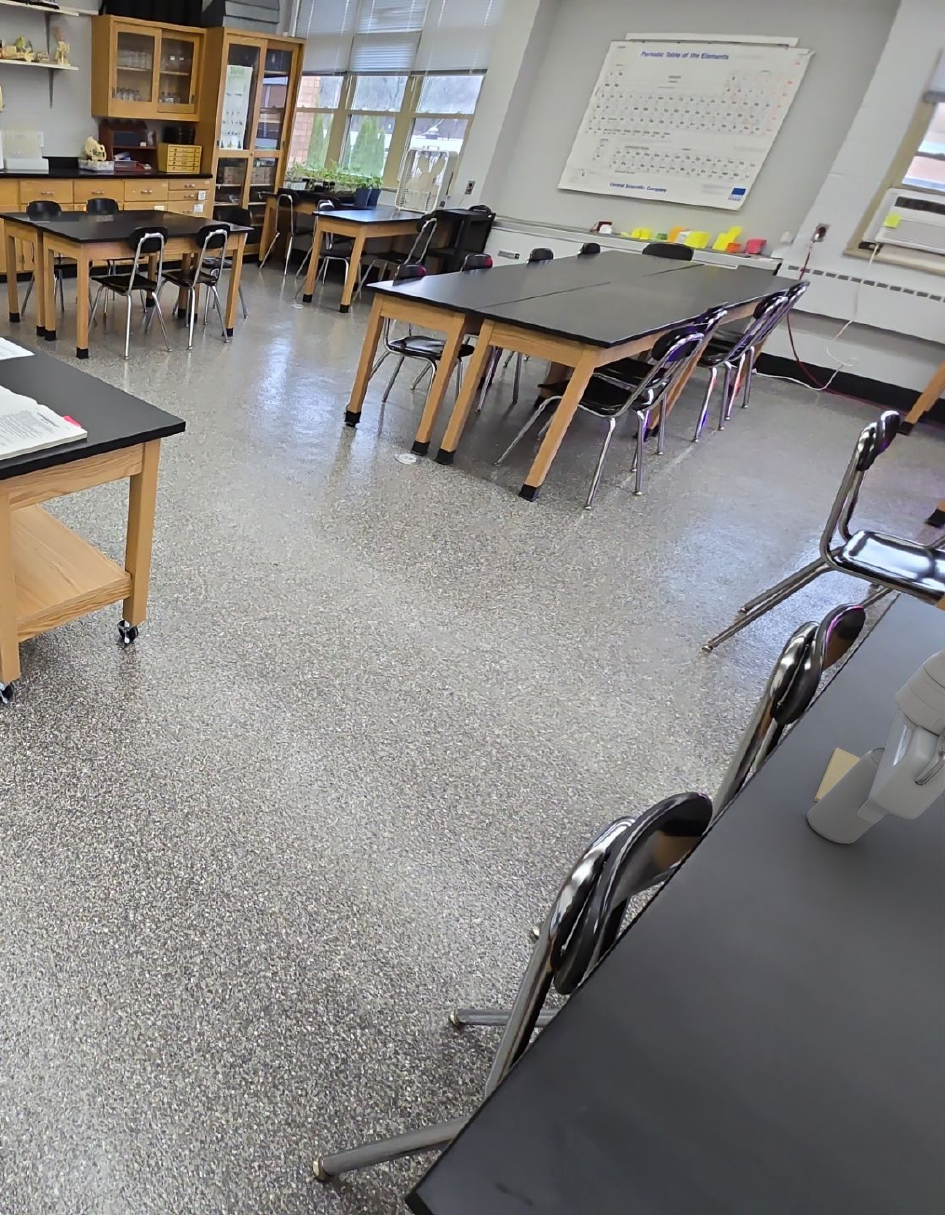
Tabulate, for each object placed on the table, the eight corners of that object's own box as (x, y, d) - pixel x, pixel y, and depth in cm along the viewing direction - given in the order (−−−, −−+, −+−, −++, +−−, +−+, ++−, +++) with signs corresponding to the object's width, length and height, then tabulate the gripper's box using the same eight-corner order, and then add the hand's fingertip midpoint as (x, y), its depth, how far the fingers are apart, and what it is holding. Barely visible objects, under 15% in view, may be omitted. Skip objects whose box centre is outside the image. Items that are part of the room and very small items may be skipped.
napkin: (834, 750, 97) (837, 747, 96) (876, 770, 94) (879, 767, 94) (813, 800, 89) (816, 797, 89) (858, 823, 87) (861, 820, 86)
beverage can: (795, 819, 87) (860, 752, 80) (818, 807, 89) (884, 741, 81) (839, 851, 83) (911, 785, 76) (862, 839, 85) (935, 772, 78)
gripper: (995, 776, 66) (894, 865, 74) (1009, 679, 77) (921, 765, 85) (906, 738, 69) (819, 826, 78) (932, 650, 81) (854, 735, 89)
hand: (873, 793), depth 82 cm, fingers open, 8 cm apart
